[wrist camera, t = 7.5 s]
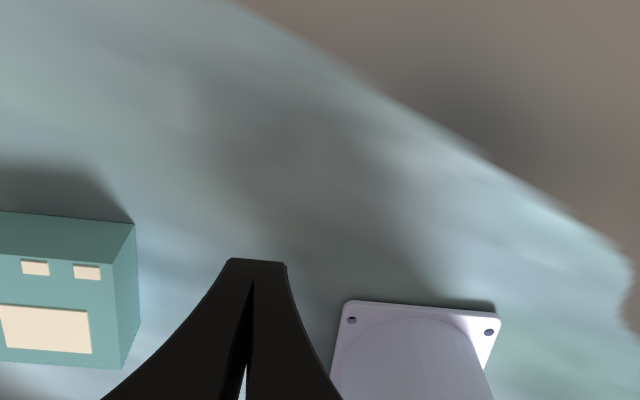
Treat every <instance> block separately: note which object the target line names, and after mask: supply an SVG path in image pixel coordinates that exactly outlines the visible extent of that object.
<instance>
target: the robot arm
mask: <svg viewBox="0 0 640 400" xmlns="http://www.w3.org/2000/svg"><path fill="white" fill-rule="evenodd" d="M352 316H353V317H355V318H354V319H349V317H352ZM501 324H502V322H501V319H500V317H499V315H497V314H496V313H491V312H480V311H469V310H458V309H447V308H436V307H425V306H414V305H403V304H391V303H380V302H369V301H358V300H351V301H348V302H346V303H345V304H344V306H343V310H342V315H341V320H340V325H339V330H338V336H337V341H336V346H335V351H334V356H333V361H332V366H331V371H330V376H328V374H327V372H326V371H325V369H324V367H323V365H322V363H321V362H320V360H319V358H318V356H317V354H316V352H315V350H314V348H313V346H312V344H311V341H310V339H309V337H308V335H307V333H306V330H305V328H304V326H303V323H302V321H301V318H300V315H299V313H298V310H297V308H296V305H295V302H294V299H293V295H292V292H291V288H290V284H289V280H288V274H287V266H286V265H285V264H284V263H283V262H275V261H264V260H254V259H243V258H233V257H232V258H230V259H229V260H227V261H226V263H225V265H224V267H223V269H222V271H221V272H220V274H219V276H218V277H217V279H216V280H215V282H214V283H213V285H212V286H211V288H210V289H209V290H208V292H207V293H206V294H205V296H204V297H203V298H202V300H201V301H200V302H199V304H198V305H197V306H196V307H195V309H194V310H193V311H192V313H191V314H190V315H189V316H188V317H187V318H186V320H185V321H184V322H183V323H182V324H181V325H180V326H179V327H178V329H177V330H176V331H175V332H174V333H173V334H172V335H171V336H170V338H169V339H168V340H167V341H166V342H165V343H164V344H163V345H162V346H161V347H160V348H159V349H158V350H157V351H156V352H155V353H154V354H153V355H152V356H151V357H150V358H149V359H147V360H146V361H145V362H144V363H143V364H142V365H141V366H140V367H139V368H138V369H137V370H135V371H134V372H133V373H132V374H131V375H130V376H128V377H127V378H126V379H125V380H124V381H123V382H121V383H120V384H119V385H118V386H117V387H115V388H114V389H113V390H112V391H110V392H109V393H108V394H107V395H105V396H104V397H103V398H101V399H100V400H238V398H239V393H240V389H241V385H242V381H243V377H244V372H245V368H246V364H247V371H246V400H494V398H493V396H492V393H491V390H490V388H489V385H488V382H487V380H486V377H485V374H484V372H483V369H484V367H485V364H486V362H487V359H488V357H489V354H490V352H491V349H492V347H493V345H494V342H495V340H496V337H497V335H498V332H499V330H500V327H501ZM490 328H491V329H490ZM486 329H490V330H487V331H485V330H486Z"/></svg>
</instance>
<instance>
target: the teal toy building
mask: <svg viewBox="0 0 640 400" xmlns="http://www.w3.org/2000/svg"><path fill="white" fill-rule="evenodd" d="M139 326H140V308H139V290H138V272H137V255H136V237H135V224H127V223H116V222H106V221H96V220H86V219H76V218H66V217H56V216H45V215H35V214H25V213H15V212H5V211H0V361H6V362H19V363H32V364H45V365H58V366H71V367H84V368H97V369H111V370H122V367H123V365H124V362H125V360H126V358H127V355H128V353H129V350H130V348H131V346H132V343H133V341H134V338H135V336H136V333H137V331H138V329H139Z"/></svg>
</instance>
